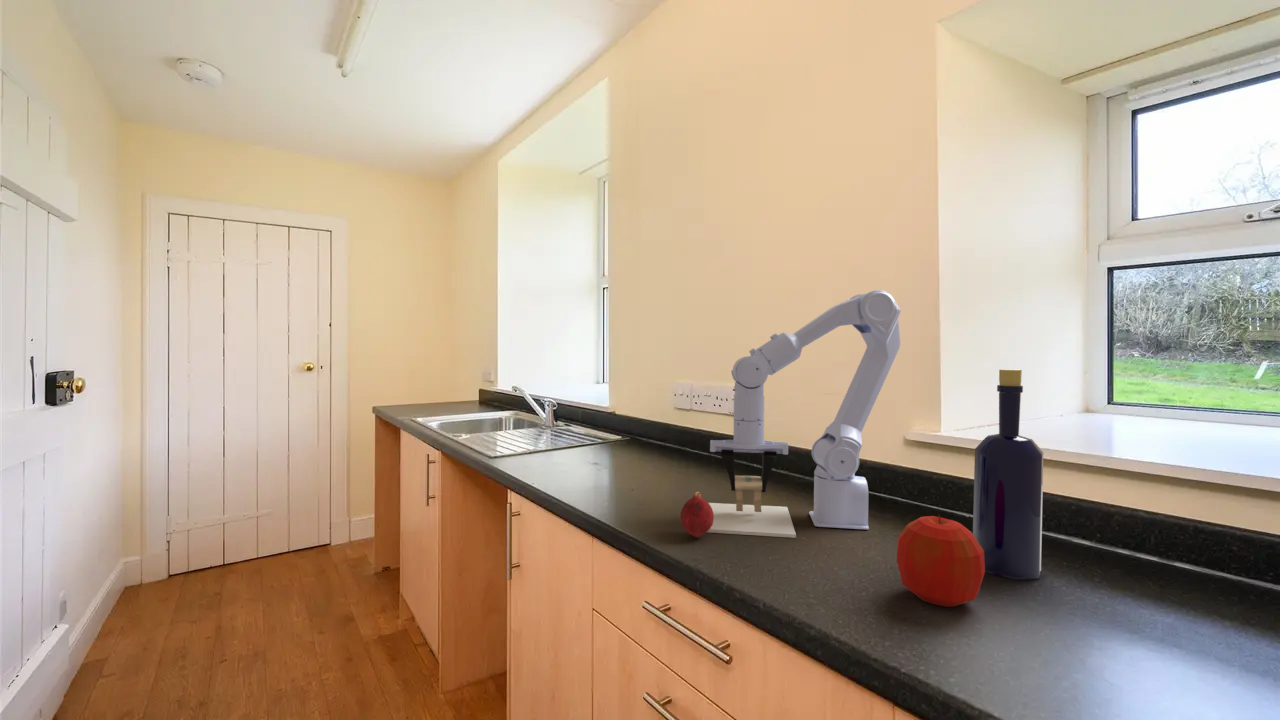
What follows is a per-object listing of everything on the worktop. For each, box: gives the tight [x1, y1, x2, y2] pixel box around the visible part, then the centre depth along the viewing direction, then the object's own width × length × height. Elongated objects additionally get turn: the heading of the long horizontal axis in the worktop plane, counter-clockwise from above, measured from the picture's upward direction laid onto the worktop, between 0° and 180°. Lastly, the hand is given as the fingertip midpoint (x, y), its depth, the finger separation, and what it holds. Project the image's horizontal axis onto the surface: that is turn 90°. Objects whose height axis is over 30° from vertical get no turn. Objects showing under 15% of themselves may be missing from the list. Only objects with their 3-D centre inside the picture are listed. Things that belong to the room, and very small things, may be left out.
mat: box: [706, 502, 797, 539], centre depth 102 cm, size 16×16×1 cm
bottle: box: [972, 368, 1044, 581], centre depth 81 cm, size 9×9×30 cm
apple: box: [896, 514, 986, 608], centre depth 70 cm, size 10×10×12 cm
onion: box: [679, 491, 714, 539], centre depth 93 cm, size 6×6×8 cm
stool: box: [735, 475, 762, 512], centre depth 103 cm, size 5×5×6 cm
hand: (748, 490), depth 102 cm, fingers closed on stool, 5 cm apart
